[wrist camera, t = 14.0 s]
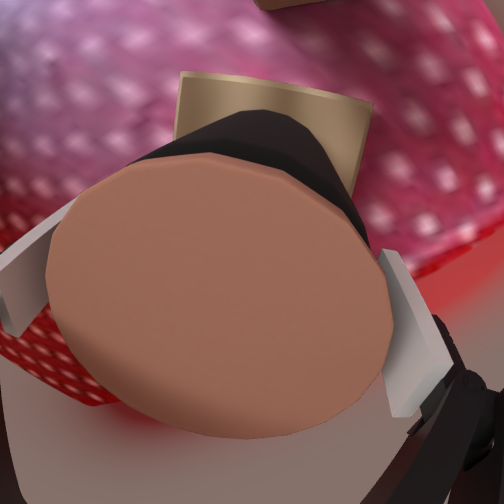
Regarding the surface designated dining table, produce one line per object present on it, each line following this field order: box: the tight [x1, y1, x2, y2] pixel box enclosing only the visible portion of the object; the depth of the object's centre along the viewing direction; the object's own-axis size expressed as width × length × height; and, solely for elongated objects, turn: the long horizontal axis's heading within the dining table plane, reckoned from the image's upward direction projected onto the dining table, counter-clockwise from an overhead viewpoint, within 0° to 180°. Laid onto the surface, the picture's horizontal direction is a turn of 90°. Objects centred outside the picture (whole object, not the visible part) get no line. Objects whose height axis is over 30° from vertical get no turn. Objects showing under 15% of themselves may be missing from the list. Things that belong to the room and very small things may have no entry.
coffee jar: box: [45, 109, 394, 439], centre depth 17 cm, size 11×11×18 cm
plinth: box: [173, 71, 374, 198], centre depth 26 cm, size 15×15×4 cm
